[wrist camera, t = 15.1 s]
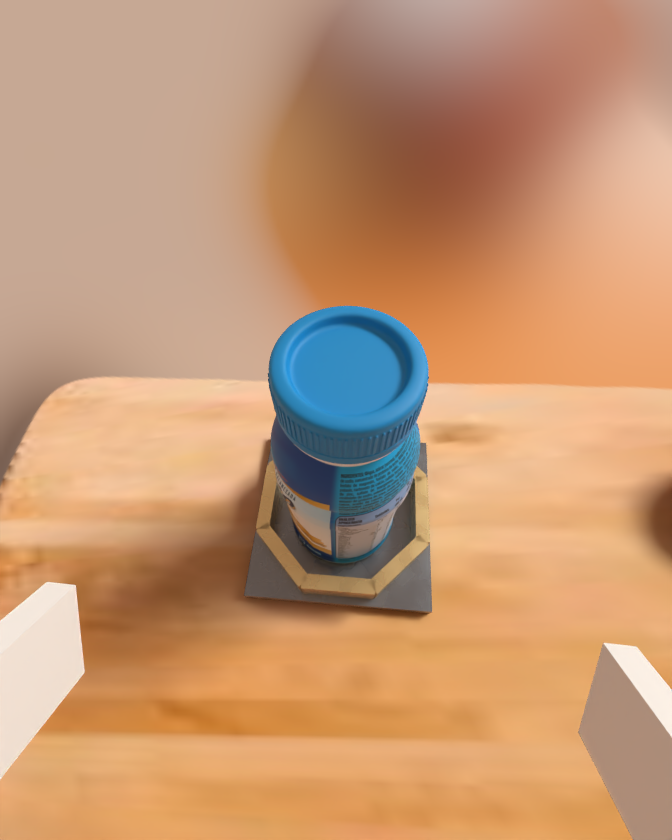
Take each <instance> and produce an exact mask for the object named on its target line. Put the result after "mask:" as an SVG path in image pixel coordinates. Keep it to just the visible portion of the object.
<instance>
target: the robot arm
mask: <svg viewBox="0 0 672 840" xmlns="http://www.w3.org/2000/svg"><path fill="white" fill-rule="evenodd" d="M84 673H85V671H84V661H83V651H82V642H81V632H80V622H79V613H78V603H77V593H76V585H71V584H62V583H53V582H46V583H45V584H44V585H43V586H41V587H40V588H39V589H38V590H37V591H35V592H34V593H33V594H32V595H31V596H29V597H28V598H27V599H26V600H25V601H23V602H22V603H21V604H20V605H19V606H17V607H16V608H15V609H14V610H13V611H11V612H10V613H9V614H8V615H7V616H5V617H4V618H3V619H2V620H1V621H0V779H1V778H2V776H3V775H4V774H5V773H6V771H7V770H8V769H9V768H10V766H11V765H12V764H13V763H14V761H15V760H16V759H17V757H18V756H19V755H20V754H21V752H22V751H23V750H24V749H25V747H26V746H27V745H28V744H29V742H30V741H31V740H32V739H33V737H34V736H35V735H36V733H37V732H38V731H39V730H40V728H41V727H42V726H43V725H44V723H45V722H46V721H47V720H48V718H49V717H50V716H51V714H52V713H53V712H54V711H55V709H56V708H57V707H58V706H59V704H60V703H61V702H62V701H63V699H64V698H65V697H66V695H67V694H68V693H69V692H70V690H71V689H72V688H73V687H74V685H75V684H76V683H77V682H78V680H79V679H80V678H81V677H82V675H83V674H84ZM578 733H579V735H580V737H581V739H582V741H583V743H584V745H585V746H586V748H587V750H588V752H589V754H590V756H591V758H592V760H593V762H594V764H595V766H596V768H597V770H598V772H599V774H600V776H601V778H602V780H603V782H604V784H605V786H606V788H607V790H608V792H609V794H610V796H611V797H612V799H613V801H614V803H615V805H616V807H617V809H618V811H619V813H620V815H621V817H622V819H623V821H624V823H625V825H626V827H627V829H628V831H629V833H630V835H631V837H632V839H633V840H672V690H671V688H670V687H669V686H668V685H667V683H666V682H665V681H664V680H663V679H662V677H661V676H660V675H659V674H658V672H657V671H656V670H655V669H654V668H653V666H652V665H651V664H650V663H649V661H648V660H647V659H646V658H645V657H644V655H643V654H642V653H641V652H640V650H639V649H638V648H637V647H636V646H627V645H618V644H609V643H603V645H602V649H601V653H600V656H599V660H598V663H597V667H596V671H595V674H594V678H593V681H592V685H591V688H590V692H589V696H588V699H587V703H586V706H585V710H584V714H583V717H582V721H581V724H580V728H579V731H578Z"/></svg>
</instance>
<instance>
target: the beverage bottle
mask: <svg viewBox="0 0 672 840" xmlns="http://www.w3.org/2000/svg"><path fill="white" fill-rule="evenodd" d="M268 377H269V379H268V381H269V388H270V392H271V396H272V401H273V405H274V409H275V412H276V418H275V420H274V424H273V428H272V433H271V454H272V459H273V462H274V465H275V474H276V479H277V483H278V486H279V488H280V491H281V493H282V495H283V497H284V499H285V500H286V502H287V505H288V508H289V511H290V514H291V517H292V522H293V525H294V529H295V531H296V534H297V536H298V538H299V539H300V541H301V542H302V544H303V545H304V546H305V547H306V548H307V549H308V550H309V551H310V552H311V553H313V554H314V555H316V556H317V557H319V558H321V559H323V560H326V561H329V562H334V563H352V562H356V561H359V560H362V559H364V558H366V557H368V556H370V555H371V554H373V553H374V552H375V551H376V550H377V549H378V548H379V547H380V546H381V545H382V544H383V543H384V541H385V540H386V538H387V536H388V534H389V531H390V529H391V526H392V522H393V517H394V514H395V512H396V510H397V509H398V507H399V506H400V505H401V504H402V502H403V501H404V499H405V498H406V496H407V494H408V492H409V489H410V487H411V484H412V480H413V476H414V471H415V469H416V466H417V463H418V460H419V455H420V434H419V428H418V424H417V419H418V416H419V414H420V411H421V408H422V405H423V402H424V399H425V396H426V392H427V387H428V383H427V382H428V378H429V377H428V363H427V358H426V355H425V352H424V349H423V347H422V345H421V344H420V342H419V340H418V339H417V338H416V336H415V335H414V334H413V333H412V332H411V331H410V330H409V329H408V328H407V327H406V326H405V325H404V324H402V323H401V322H400V321H398V320H396V319H395V318H393V317H391V316H389V315H387V314H385V313H382V312H380V311H377V310H373V309H369V308H364V307H357V306H338V307H330V308H326V309H322V310H318V311H315V312H313V313H310V314H308V315H306V316H304V317H303V318H301V319H299V320H297V321H296V322H295V323H293V324H292V325H291V326H289V327H288V328H287V329H286V331H285V332H284V333H283V334H282V335H281V336H280V338H279V339H278V340H277V342H276V344H275V346H274V348H273V350H272V353H271V357H270V361H269V373H268Z"/></svg>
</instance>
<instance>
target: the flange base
mask: <svg viewBox="0 0 672 840" xmlns="http://www.w3.org/2000/svg"><path fill="white" fill-rule="evenodd" d="M244 596H245V597H249V598H260V599H271V600H283V601H294V602H306V603H317V604H328V605H340V606H351V607H362V608H374V609H385V610H396V611H408V612H419V613H431V612H432V596H431V567H430V534H429V506H428V478H427V454H426V443H420V455H419V460H418V463H417V466H416V469H415V471H414V476H413V480H412V484H411V487H410V489H409V492H408V494H407V496H406V498H405V499H404V501H403V502H402V504H401V505H400V506H399V507H398V509H397V510H396V512H395V514H394V517H393V522H392V526H391V529H390V531H389V534H388V536H387V538H386V540H385V541H384V543H383V544H382V545H381V546H380V547H379V548H378V549H377V550H376V551H375V552H374V553H373V554H371V555H370V556H368V557H366V558H364V559H362V560H359V561H356V562H352V563H334V562H329V561H326V560H323V559H321V558H319V557H317V556H316V555H314V554H313V553H311V552H310V551H309V550H308V549H307V548H306V547H305V546H304V545H303V544H302V542H301V541H300V539H299V538H298V536H297V534H296V531H295V529H294V525H293V522H292V517H291V514H290V511H289V508H288V505H287V502H286V500H285V499H284V497H283V495H282V493H281V491H280V488H279V486H278V483H277V479H276V474H275V465H274V462H273V459H272V454H271V449H270V455H269V460H268V465H267V468H266V474H265V479H264V485H263V490H262V496H261V501H260V507H259V512H258V518H257V523H256V532H255V537H254V543H253V549H252V554H251V560H250V565H249V571H248V576H247V582H246V587H245V593H244Z"/></svg>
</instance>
